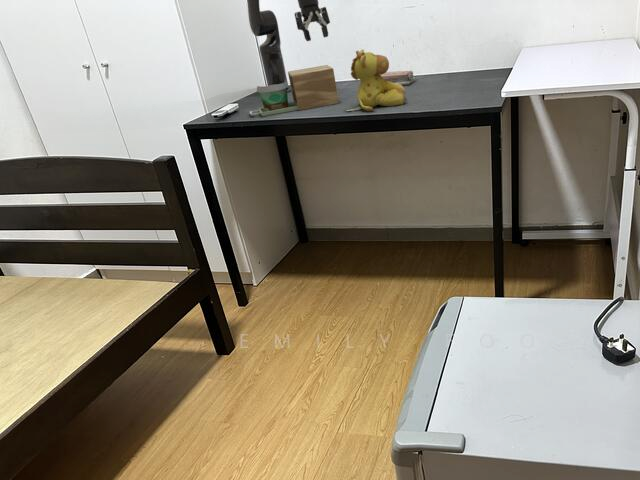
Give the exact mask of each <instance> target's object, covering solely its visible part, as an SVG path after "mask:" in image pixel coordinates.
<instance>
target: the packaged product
mask: <svg viewBox="0 0 640 480" xmlns="http://www.w3.org/2000/svg"><path fill="white" fill-rule="evenodd" d="M380 75H381V76H382V78H383V79H385V80H387V81H390V82H392V83H397V84H400V85H402V86H403V87H404V86H409V85H410V84H412V83H413V82H415V81H416V77H415V76H414V71H413V70H400V71H387V72H386V73H384V74H380Z"/></svg>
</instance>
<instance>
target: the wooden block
mask: <svg viewBox="0 0 640 480" xmlns="http://www.w3.org/2000/svg"><path fill="white" fill-rule="evenodd" d="M287 75H288V81H289V86H290V90H291V95H292V99H293V102H296V103H297V105H298V110H297V111H303V110H308V109H315V108H321V107H326V106H332V105H338V104H340V103H339V102H340V101H339V95H338V89H337V83H336V76H335V72H334V68H333V67H332V66H330V65H329V64H325V65H319V66H313V67H307V68H301V69H295V70H289V71H287Z"/></svg>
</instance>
